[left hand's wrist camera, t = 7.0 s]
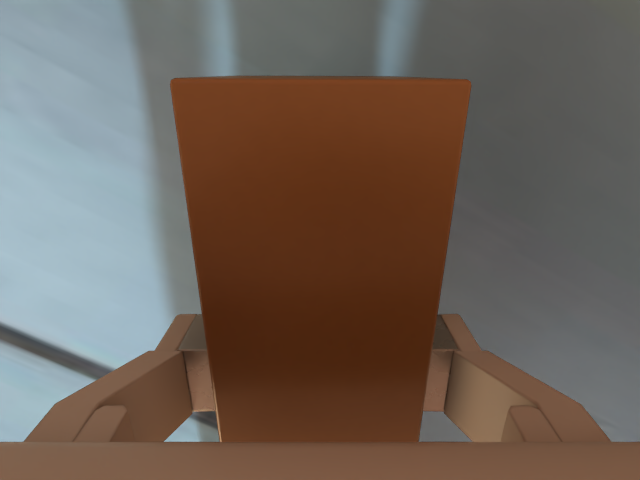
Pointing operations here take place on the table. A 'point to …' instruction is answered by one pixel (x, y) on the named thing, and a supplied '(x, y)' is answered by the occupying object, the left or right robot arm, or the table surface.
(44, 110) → the table surface
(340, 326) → the bar
